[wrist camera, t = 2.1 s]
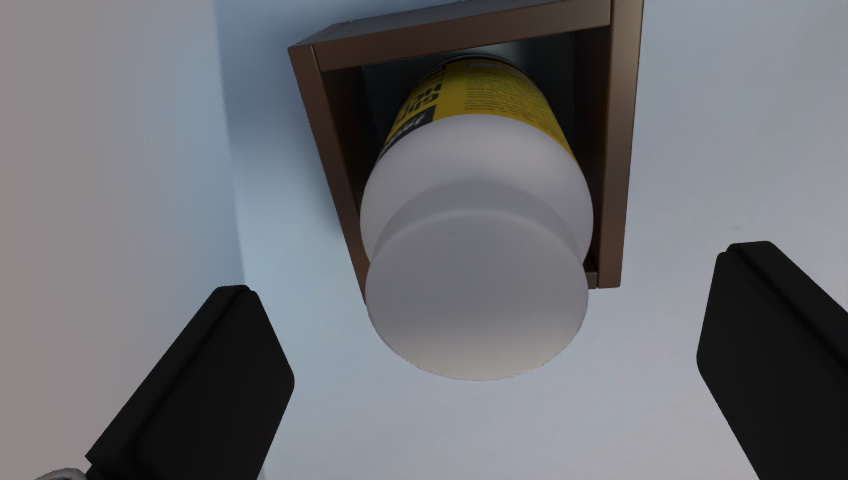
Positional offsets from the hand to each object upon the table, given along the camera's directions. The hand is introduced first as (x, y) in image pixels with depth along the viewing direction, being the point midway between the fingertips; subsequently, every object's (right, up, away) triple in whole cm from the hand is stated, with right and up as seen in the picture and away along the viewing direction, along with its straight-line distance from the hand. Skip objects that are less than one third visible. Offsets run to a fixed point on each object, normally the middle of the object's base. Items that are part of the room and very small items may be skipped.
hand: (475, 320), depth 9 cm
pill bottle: (+1, +6, +9) cm, 11 cm away
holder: (+1, +6, +9) cm, 11 cm away
